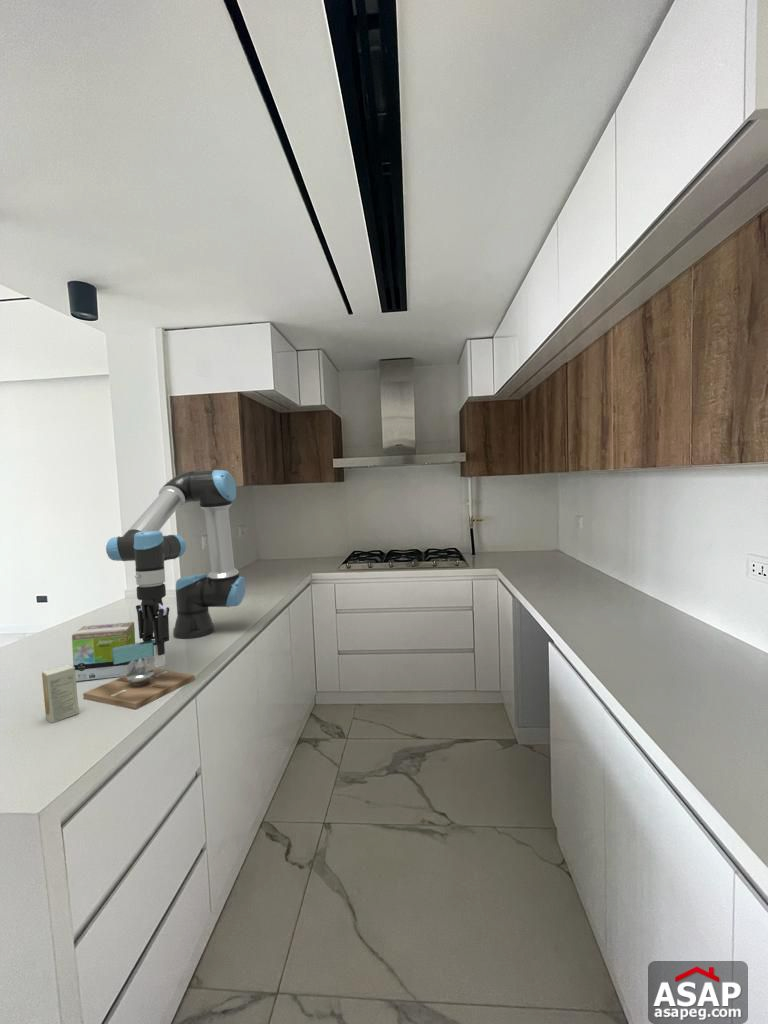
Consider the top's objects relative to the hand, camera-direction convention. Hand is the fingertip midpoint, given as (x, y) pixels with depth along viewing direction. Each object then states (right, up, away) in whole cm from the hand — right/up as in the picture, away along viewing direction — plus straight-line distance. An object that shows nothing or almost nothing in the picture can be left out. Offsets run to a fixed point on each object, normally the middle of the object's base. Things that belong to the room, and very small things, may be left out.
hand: (155, 664), depth 135 cm
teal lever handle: (-3, -3, -3) cm, 5 cm away
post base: (-3, -6, -2) cm, 7 cm away
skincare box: (-15, -7, -18) cm, 24 cm away
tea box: (-20, -7, +10) cm, 24 cm away
